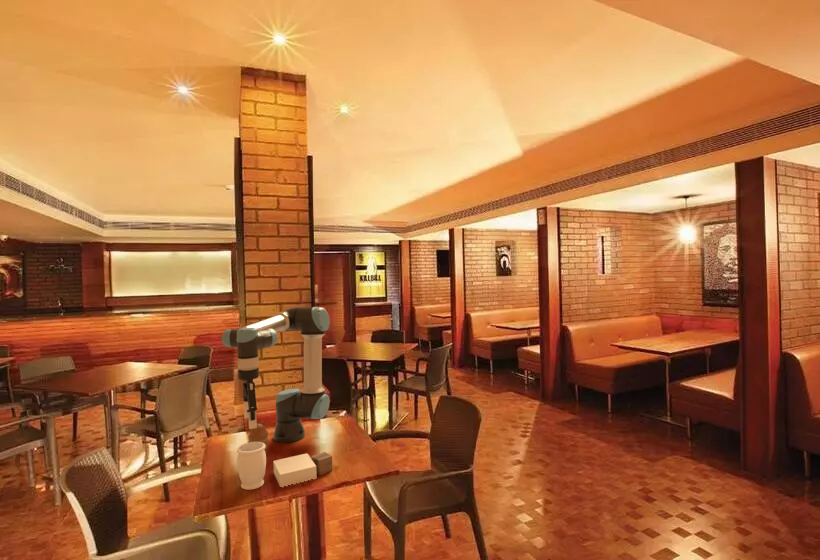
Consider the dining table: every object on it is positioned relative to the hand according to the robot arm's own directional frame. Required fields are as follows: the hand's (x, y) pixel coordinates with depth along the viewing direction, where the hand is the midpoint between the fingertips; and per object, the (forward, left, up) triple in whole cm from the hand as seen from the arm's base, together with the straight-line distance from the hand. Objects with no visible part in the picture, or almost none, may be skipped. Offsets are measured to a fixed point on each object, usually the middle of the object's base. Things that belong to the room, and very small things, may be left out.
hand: (250, 422), depth 167 cm
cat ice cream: (-18, +5, -25) cm, 31 cm away
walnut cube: (+2, +27, -24) cm, 37 cm away
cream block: (+1, +16, -24) cm, 29 cm away
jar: (0, 0, -25) cm, 25 cm away
